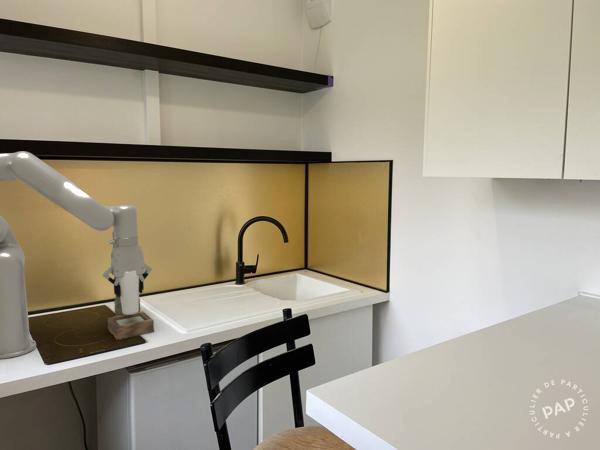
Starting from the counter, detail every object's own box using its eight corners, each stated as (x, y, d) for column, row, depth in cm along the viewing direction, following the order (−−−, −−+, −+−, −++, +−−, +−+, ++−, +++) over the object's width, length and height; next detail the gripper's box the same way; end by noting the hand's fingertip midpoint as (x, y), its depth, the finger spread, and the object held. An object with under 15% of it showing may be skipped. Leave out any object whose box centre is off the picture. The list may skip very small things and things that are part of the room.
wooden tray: (116, 340, 143) (116, 327, 143) (108, 329, 153) (107, 317, 152) (154, 332, 150) (153, 320, 150) (143, 322, 160) (142, 311, 159)
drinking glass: (137, 308, 155) (135, 266, 154) (143, 313, 150) (141, 270, 148) (117, 312, 151) (114, 269, 150) (123, 317, 146) (120, 273, 144)
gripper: (101, 246, 140) (104, 301, 142) (155, 241, 150) (158, 292, 152) (95, 243, 146) (99, 296, 148) (148, 238, 156) (151, 287, 158)
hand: (129, 293), depth 150 cm, fingers closed on drinking glass, 6 cm apart
